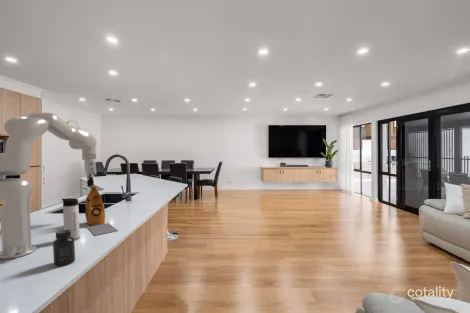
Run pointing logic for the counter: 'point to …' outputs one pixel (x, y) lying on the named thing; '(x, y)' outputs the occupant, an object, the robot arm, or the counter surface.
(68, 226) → the travel mug
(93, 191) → the coffee package
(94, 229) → the mat
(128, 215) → the counter surface
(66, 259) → the supplement bottle
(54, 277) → the counter surface
